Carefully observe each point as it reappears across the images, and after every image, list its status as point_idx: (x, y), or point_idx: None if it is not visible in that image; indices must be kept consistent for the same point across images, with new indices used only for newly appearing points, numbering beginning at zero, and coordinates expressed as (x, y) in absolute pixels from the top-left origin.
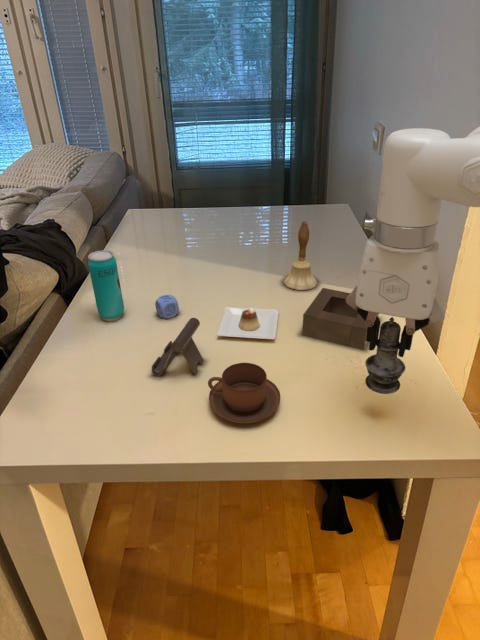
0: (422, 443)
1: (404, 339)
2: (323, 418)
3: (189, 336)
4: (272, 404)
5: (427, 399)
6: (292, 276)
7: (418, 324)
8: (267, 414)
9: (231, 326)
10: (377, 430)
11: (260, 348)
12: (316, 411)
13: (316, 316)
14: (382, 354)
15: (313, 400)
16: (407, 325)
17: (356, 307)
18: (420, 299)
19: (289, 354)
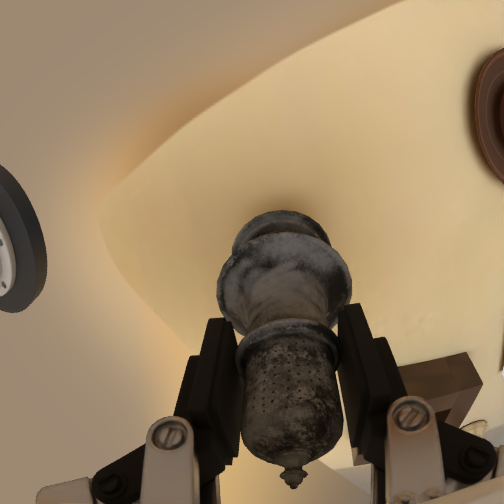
0: (169, 184)
1: (198, 388)
2: (382, 144)
3: None
4: (483, 129)
5: (208, 307)
6: (481, 437)
7: (137, 473)
8: (480, 93)
9: None
10: (262, 168)
11: None
12: (402, 158)
13: (461, 392)
14: (296, 306)
15: (418, 189)
16: (182, 465)
17: (498, 459)
18: None
19: (482, 296)
